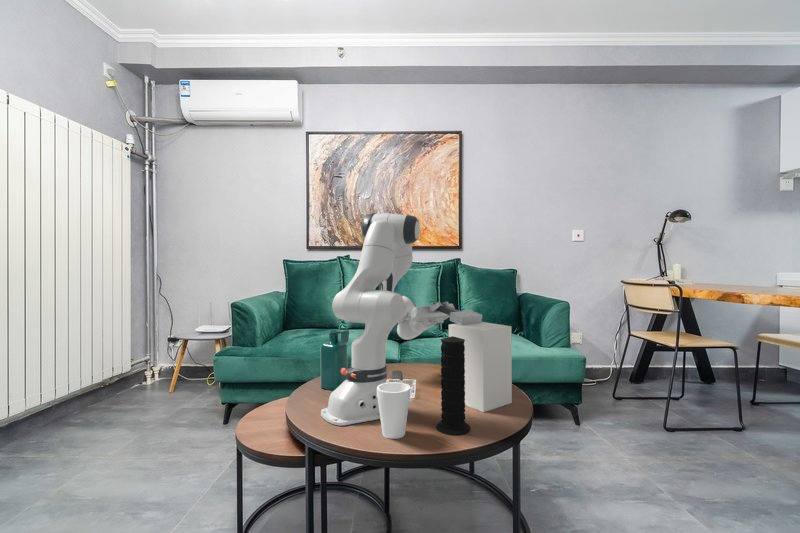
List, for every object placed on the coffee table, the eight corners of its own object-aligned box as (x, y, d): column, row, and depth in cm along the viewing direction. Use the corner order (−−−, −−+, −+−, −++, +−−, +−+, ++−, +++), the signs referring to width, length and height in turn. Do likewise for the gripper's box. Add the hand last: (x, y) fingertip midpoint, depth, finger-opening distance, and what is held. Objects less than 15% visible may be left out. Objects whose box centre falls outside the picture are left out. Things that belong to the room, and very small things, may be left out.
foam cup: (379, 442, 104) (379, 393, 104) (374, 428, 113) (374, 383, 113) (414, 439, 106) (414, 391, 106) (406, 425, 115) (406, 381, 115)
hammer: (461, 325, 136) (462, 317, 135) (425, 310, 152) (425, 302, 151) (481, 322, 142) (482, 314, 141) (444, 308, 158) (445, 300, 157)
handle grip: (429, 424, 116) (446, 438, 107) (429, 334, 116) (446, 340, 107) (458, 418, 120) (477, 431, 111) (458, 332, 120) (477, 337, 111)
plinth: (483, 412, 125) (483, 330, 125) (448, 398, 138) (448, 324, 138) (511, 402, 134) (511, 326, 133) (476, 390, 146) (476, 321, 146)
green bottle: (318, 388, 151) (317, 330, 151) (331, 382, 158) (331, 327, 158) (339, 391, 146) (338, 332, 146) (352, 385, 154) (351, 329, 154)
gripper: (400, 313, 156) (419, 297, 146) (439, 309, 168) (459, 294, 158) (405, 328, 153) (425, 313, 143) (444, 323, 165) (465, 309, 155)
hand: (443, 303), depth 151 cm, fingers closed on hammer, 2 cm apart
